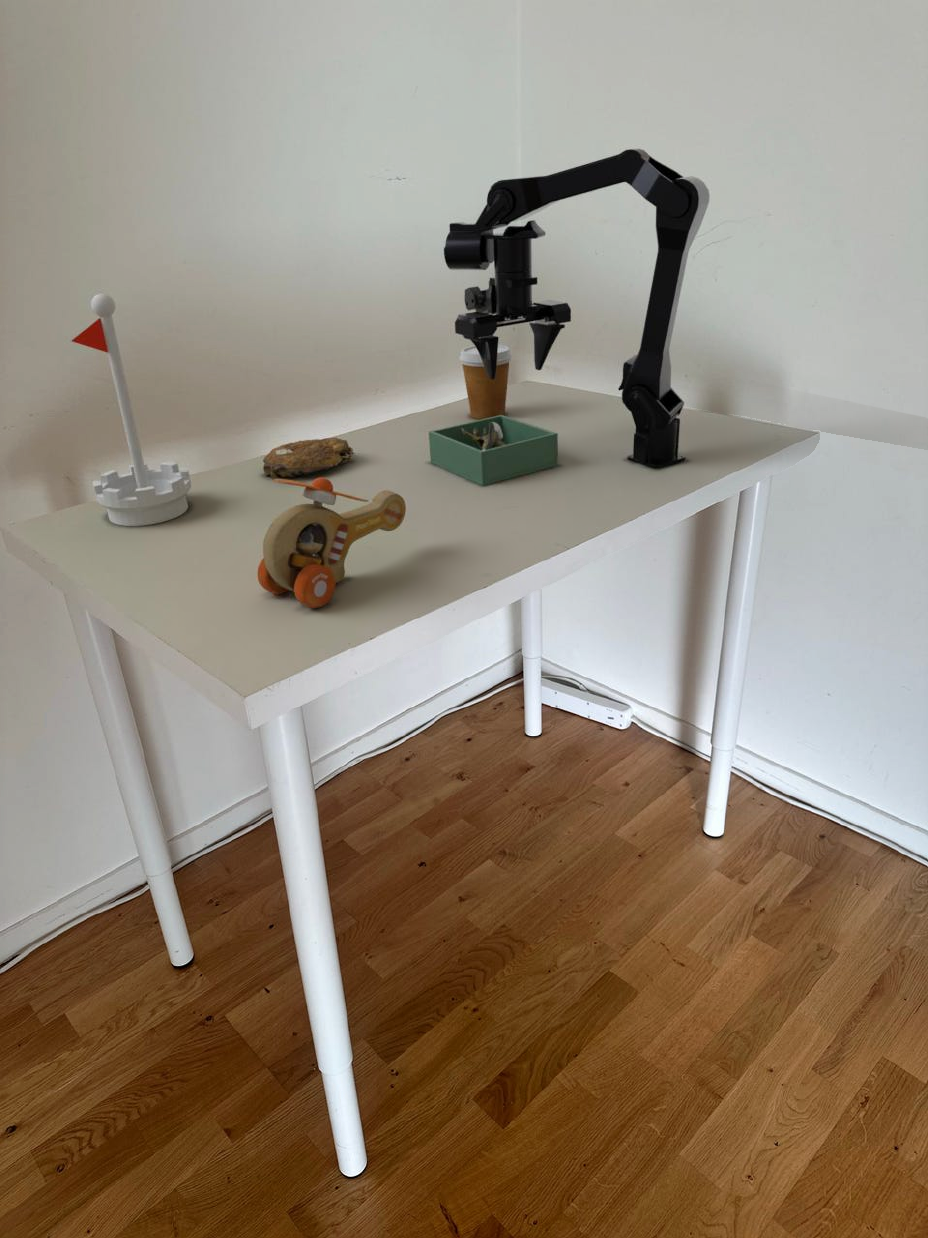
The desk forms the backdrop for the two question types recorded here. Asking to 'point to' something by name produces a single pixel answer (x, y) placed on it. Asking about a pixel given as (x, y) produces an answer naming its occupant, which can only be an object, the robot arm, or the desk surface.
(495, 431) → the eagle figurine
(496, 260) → the robot arm
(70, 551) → the desk surface
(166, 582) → the desk surface
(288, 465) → the decorative rock
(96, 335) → the flag stand
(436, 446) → the bin
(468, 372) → the disposable coffee cup
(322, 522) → the toy helicopter
